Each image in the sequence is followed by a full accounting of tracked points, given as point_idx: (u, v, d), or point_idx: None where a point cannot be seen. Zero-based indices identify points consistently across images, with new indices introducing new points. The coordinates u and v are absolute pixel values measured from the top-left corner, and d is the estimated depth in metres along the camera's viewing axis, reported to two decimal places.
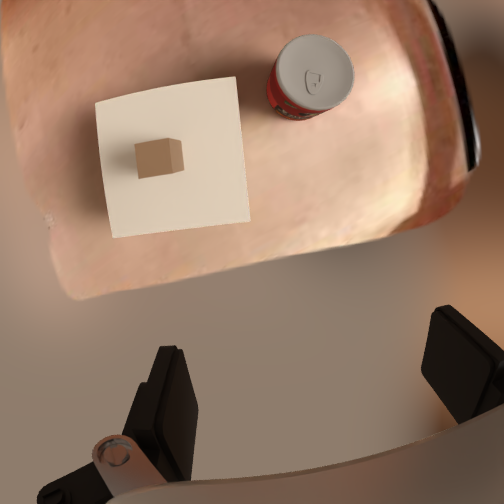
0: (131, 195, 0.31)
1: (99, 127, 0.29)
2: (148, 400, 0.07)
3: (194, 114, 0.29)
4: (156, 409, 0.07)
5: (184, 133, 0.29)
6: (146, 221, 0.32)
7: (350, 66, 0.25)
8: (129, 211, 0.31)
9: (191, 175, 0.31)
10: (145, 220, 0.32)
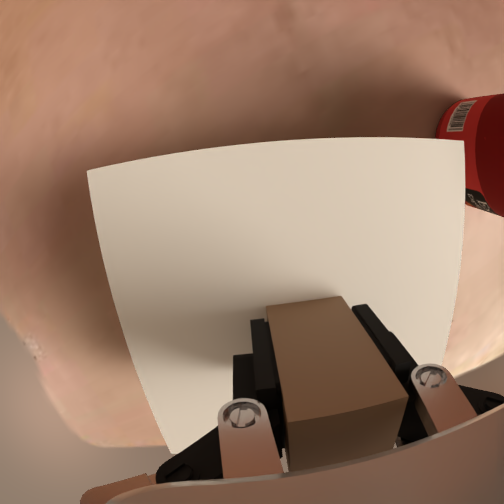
0: (209, 401, 0.13)
1: (106, 244, 0.11)
2: (261, 364, 0.08)
3: (378, 230, 0.11)
4: (273, 370, 0.08)
5: (351, 278, 0.12)
6: None
7: None
8: (205, 423, 0.14)
9: None
10: None
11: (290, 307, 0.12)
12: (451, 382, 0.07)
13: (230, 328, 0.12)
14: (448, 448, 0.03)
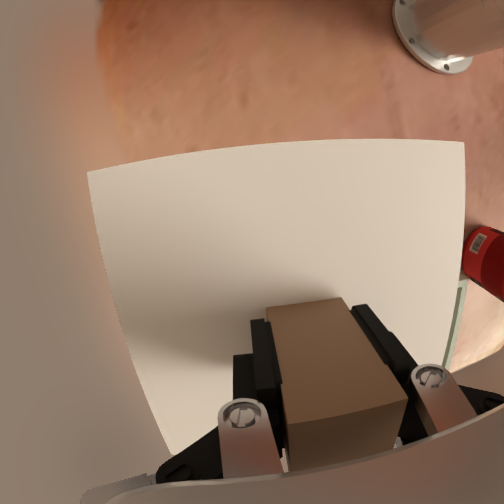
0: (210, 402, 0.13)
1: (106, 246, 0.11)
2: (261, 364, 0.08)
3: (378, 232, 0.11)
4: (272, 370, 0.08)
5: (351, 279, 0.12)
6: None
7: None
8: (205, 424, 0.14)
9: None
10: None
11: (290, 309, 0.12)
12: (451, 382, 0.07)
13: (230, 329, 0.12)
14: (448, 448, 0.03)
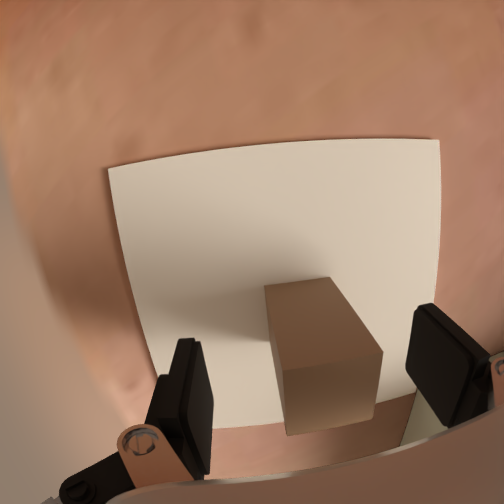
0: (214, 375, 0.15)
1: (125, 232, 0.13)
2: (171, 389, 0.08)
3: (361, 219, 0.13)
4: (180, 398, 0.07)
5: (338, 261, 0.14)
6: (243, 411, 0.16)
7: None
8: None
9: None
10: (242, 410, 0.16)
11: (285, 286, 0.14)
12: None
13: (233, 305, 0.14)
14: (448, 448, 0.03)
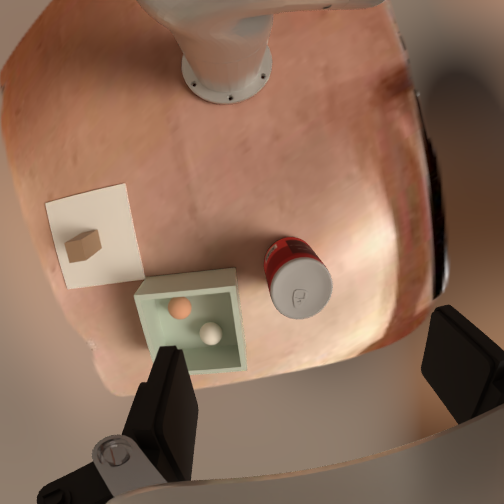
0: (74, 263, 0.46)
1: (50, 220, 0.44)
2: (148, 400, 0.07)
3: (102, 212, 0.44)
4: (156, 409, 0.07)
5: (98, 224, 0.44)
6: (84, 279, 0.47)
7: (330, 283, 0.37)
8: (74, 273, 0.47)
9: (106, 251, 0.46)
10: (84, 278, 0.47)
11: (85, 232, 0.44)
12: None
13: None
14: (448, 448, 0.03)
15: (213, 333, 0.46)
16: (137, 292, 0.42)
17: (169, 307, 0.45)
